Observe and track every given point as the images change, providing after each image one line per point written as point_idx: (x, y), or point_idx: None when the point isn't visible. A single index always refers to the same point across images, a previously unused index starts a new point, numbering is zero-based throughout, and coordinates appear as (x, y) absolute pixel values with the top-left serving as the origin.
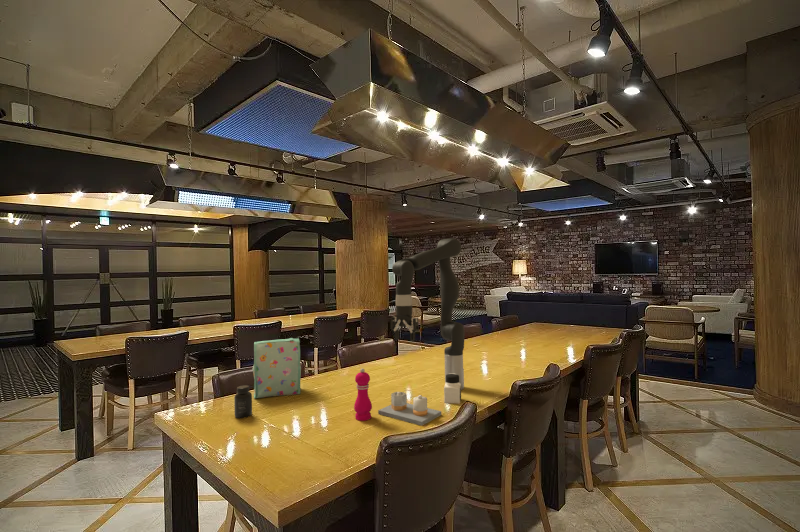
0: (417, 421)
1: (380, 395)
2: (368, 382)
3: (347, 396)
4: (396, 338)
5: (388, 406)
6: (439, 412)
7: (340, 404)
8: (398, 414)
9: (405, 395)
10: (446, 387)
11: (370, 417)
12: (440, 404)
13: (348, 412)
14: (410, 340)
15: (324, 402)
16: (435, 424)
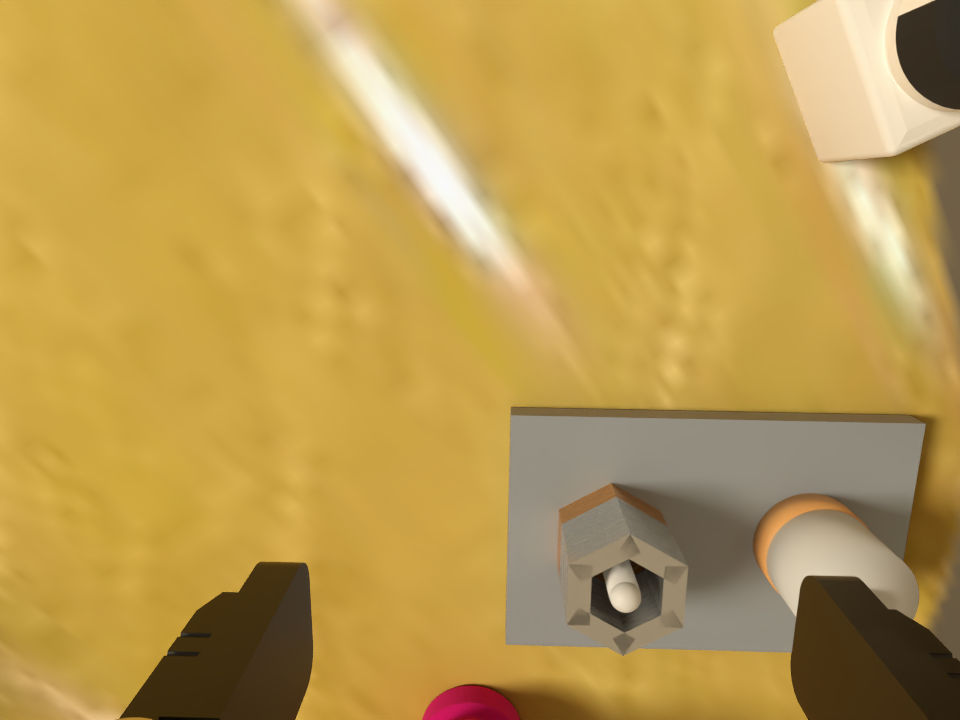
0: None
1: (231, 308)
2: None
3: (39, 476)
4: (302, 692)
5: (518, 550)
6: (921, 447)
7: (151, 629)
8: (678, 634)
9: (684, 574)
10: (915, 144)
11: (517, 716)
12: (802, 214)
13: (320, 706)
14: (801, 699)
15: (26, 658)
16: (944, 576)
